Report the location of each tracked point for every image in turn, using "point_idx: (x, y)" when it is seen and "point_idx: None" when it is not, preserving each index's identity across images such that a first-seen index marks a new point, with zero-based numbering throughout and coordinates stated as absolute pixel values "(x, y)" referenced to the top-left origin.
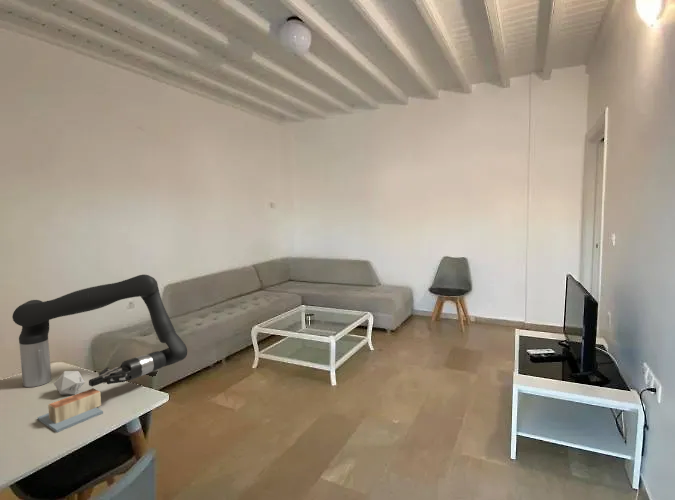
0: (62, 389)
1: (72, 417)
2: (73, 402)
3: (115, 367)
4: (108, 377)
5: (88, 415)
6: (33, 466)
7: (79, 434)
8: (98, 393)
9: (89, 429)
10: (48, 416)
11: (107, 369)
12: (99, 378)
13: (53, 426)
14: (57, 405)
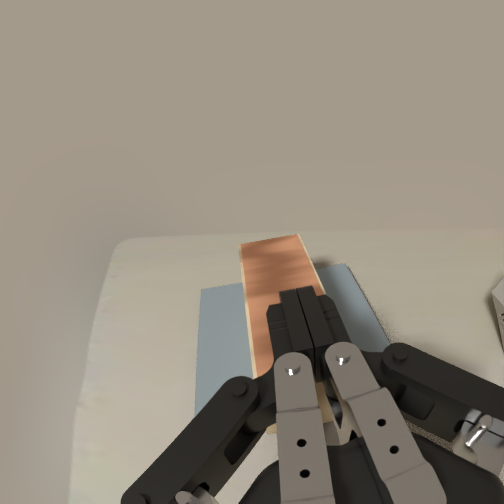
0: (494, 290)
1: (247, 328)
2: (243, 286)
3: (438, 489)
4: (222, 388)
5: (209, 369)
6: (112, 259)
7: (129, 329)
8: None
9: (126, 353)
10: (325, 281)
11: (482, 414)
12: (290, 339)
13: (233, 286)
14: (257, 248)
